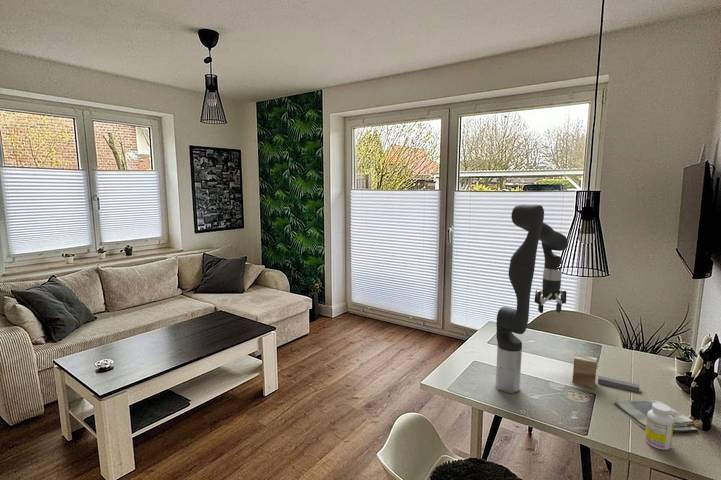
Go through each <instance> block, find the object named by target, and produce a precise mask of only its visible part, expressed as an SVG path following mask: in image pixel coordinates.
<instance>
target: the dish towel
mask: <svg viewBox="0 0 721 480" xmlns="http://www.w3.org/2000/svg"><path fill="white" fill-rule="evenodd" d="M653 403H662V404H665V405H667V404H666V403H664V402H662V401H660V400H656V399H655V400H653V399H652V400H651V399H650V400H648V399H647V400H645V399H644V400H626V401H623V400H622V401H615V402H613V406H615V407H616V408H617V409H619V410H620V411H621V412H622V413H623V414H624V415H626V416H627V417H628V418H629V419H630V420H632V422H634V423H635V424H636V425H638V426H639V427H640V428H641V429H642V430H643V431H645V432H646V423H647V413H648V411H649V410H652V404H653ZM669 407H670V408H671V413H670V415H671V416H672V417H673V419H674V426H673V433H674V434H689V433H696V434H699V432H700V430H699V429H698V428H696V427H694V426H692V425H694V424H695V421H694V420H693V419H691V418H689V417H687V416H686V415H684V414H683V413H681V412H679V411H677V410H675V409H674V408H673V407H671V406H669Z"/></svg>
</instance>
